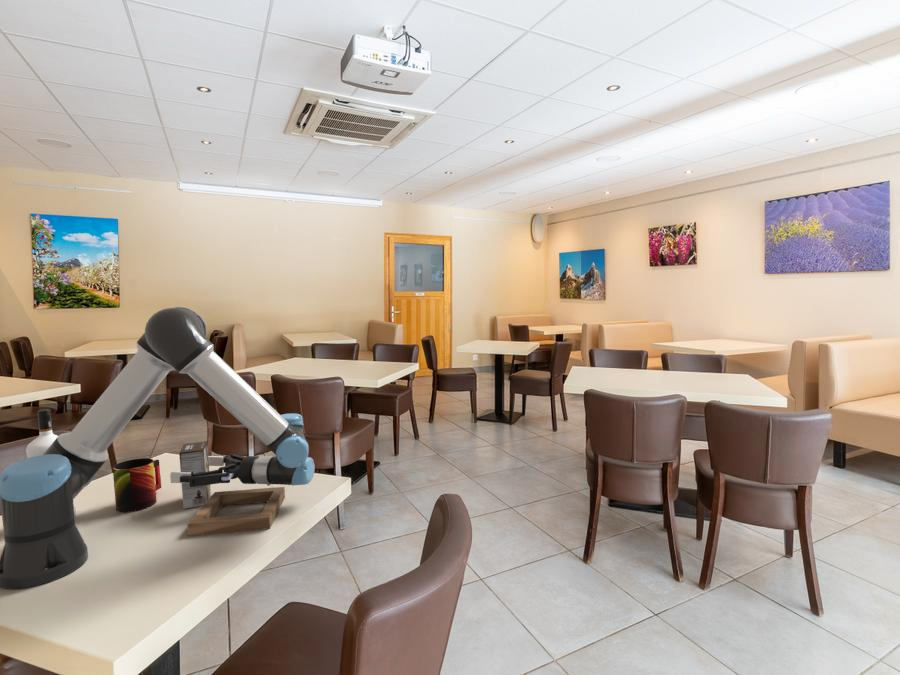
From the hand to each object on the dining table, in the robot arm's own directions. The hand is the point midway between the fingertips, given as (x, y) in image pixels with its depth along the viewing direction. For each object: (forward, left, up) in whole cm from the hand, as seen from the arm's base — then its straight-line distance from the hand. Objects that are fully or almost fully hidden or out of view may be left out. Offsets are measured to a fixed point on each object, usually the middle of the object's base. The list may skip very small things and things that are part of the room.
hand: (187, 468), depth 139 cm
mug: (+2, +15, -10) cm, 18 cm away
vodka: (-8, +31, -10) cm, 33 cm away
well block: (-13, -17, -9) cm, 24 cm away
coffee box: (-1, -2, -10) cm, 10 cm away
